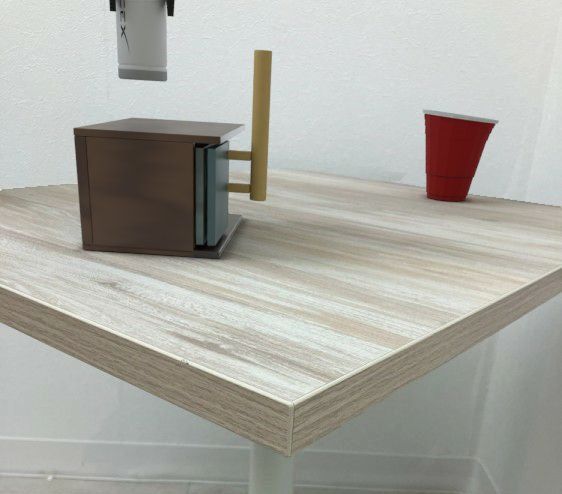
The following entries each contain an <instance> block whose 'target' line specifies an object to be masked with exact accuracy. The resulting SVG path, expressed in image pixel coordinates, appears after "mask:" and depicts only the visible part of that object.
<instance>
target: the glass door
mask: <svg viewBox="0 0 562 494" xmlns="http://www.w3.org/2000/svg"><path fill="white" fill-rule="evenodd" d="M272 64H273V50H268V49H254V50H253V77H252V107H251V110H252V111H251V112H252V113H251V143H250V151H249V150H235V149H230V140H229V139H228V140H227V141H225V142H223V143H221V144H215V145H213V146H211V147H209V148H208V201H207V245H209V246H215V245H216V243H217V242H218V240H219V239H220V238H221V236H222V235H223V233H224V232H225V230H226V229H227V227H228V214H229V200H230V199H229V196H230V195H229V194H230V193H234V194H249V200H250V201H253V202H265V201H266V200H267V192H268V191H267V188H268V167H269V166H268V164H269V163H268V162H269V138H270V137H269V136H270V116H271V115H270V113H271V93H272V92H271V90H272V67H273V65H272ZM230 161H242V162H243V161H245V162H250V173H249V174H250V176H249V177H250V178H249V179H250V180H249V181H250V182H249V183H240V182H239V183H238V182H230Z"/></svg>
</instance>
